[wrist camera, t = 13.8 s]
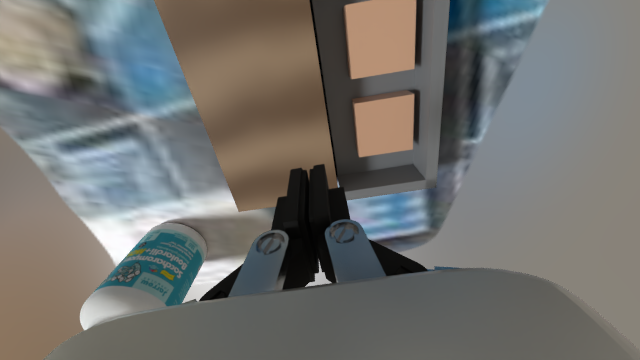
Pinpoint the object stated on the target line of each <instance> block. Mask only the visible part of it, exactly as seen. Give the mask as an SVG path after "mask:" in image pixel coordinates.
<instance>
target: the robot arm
mask: <svg viewBox="0 0 640 360" xmlns="http://www.w3.org/2000/svg"><path fill="white" fill-rule="evenodd" d="M319 262H320V265H321V269H322V272H325V276H326V279H328V280H329V281H331V282H332V283H331V284H323V285H316V286H308V287H305V286H306V285H307V284H308V283H309V282H314V281H315V273H319ZM43 360H640V350H639V349H638V348H637V347H636V346H635V345H634V344H633V343H631V342H630V341H629V340H628V339H627V338H626V337H625V336H624V335H623V334H622V333H620V332H619V331H618V330H617V329H616V328H615V327H614V326H613V325H612V324H611V323H609V322H608V321H607V320H606V319H605V318H604V317H602V316H601V315H600V314H599V313H598V312H596V311H595V310H594V309H593V308H592V307H591V306H589V305H588V304H587V303H585V302H584V301H583V300H582V299H580V298H579V297H577V296H576V295H575V294H573V293H572V292H570V291H569V290H567V289H565V288H563V287H562V286H560V285H558V284H556V283H553V282H551V281H549V280H546V279H543V278H539V277H537V276H533V275H529V274H525V273H520V272H514V271H508V270H503V269H491V268H452V267H434V270H430V269H426V268H425V267H423V266H422V265H421V264H419V263H417V262H415V261H413V260H411V259H409V258H407V257H405V256H402V255H401V254H398V253H396V252H394V251H392V250H390V249H388V248H386V247H384V246H382V245H380V244H378V243H376V242H374V241H371V240H369V239H368V238H367V236H366V234H365V232H364V230H363V228H362V226H361V225H360V224H359V223H357V222H356V221H353V220H350V215H349V210H348V206H347V201H346V196H345V191H344V187H339V188H332V189H329V186H328V180H327V175H326V170H325V165H324V164H320V165H314V166H313V169H310V171H309V178H308V173H307V170H303V169H302V168H296V169H291V170H290V176H289V183H288V189H287V196H283V197H278V199H277V204H276V209H275V214H274V219H273V224H272V229H271V231H268V232H265V233H263V234H261V235H260V236H259V237H258V238H256V239H255V241H254V242H253V244H252V246H251V248H250V251H249V253H248V255H247V257H246V259H245V261H244V264H242V265H241V266H240V267H238V268H237V269H236V270H235V271H233V272H232V273H231V274H230V275H228V276H227V277H226V278H224V279H223V280H222V281H221V282H219V283H218V284H217V285H216V286H214V287H213V288H212V289H211V290H209V291H208V292H207V293H206V294H205V295H204V296H203V297H202V298H201V299H200V300H199V302H197V301H196V299H194V300H191V301H188V302H185V303H182V304H179V305H174V306H167V307H162V308H156V309H151V310H145V311H140V312H135V313H131V314H127V315H123V316H120V317H116V318H114V319H111V320H108V321H105V322H102V323H100V324H98V325H95V326H93V327H91V328H89V329H87V330H85V331H82V332H81V333H79V334H77V335H75V336H73V337H71V338H70V339H68V340H67V341H65V342H63V343H62V344H60V345H59V346H58V347H57V348H55V349H54V350H53V351H52V352H51V353H50V354H49V355H48V356H46V357H45V358H44V359H43Z"/></svg>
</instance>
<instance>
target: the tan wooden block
mask: <svg viewBox="0 0 640 360" xmlns="http://www.w3.org/2000/svg"><path fill="white" fill-rule="evenodd" d="M154 1H155V4H156V6H157V9H158V11H159V14H160V16H161V19H162V21H163V24H164V26H165V29H166V31H167V34H168V36H169V39H170V41H171V44H172V46H173V49H174V51H175V54H176V56H177V59H178V61H179V64H180V66H181V69H182V71H183V74H184V76H185V79H186V81H187V83H188V86H189V88H190V91H191V93H192V96H193V98H194V101H195V103H196V106H197V108H198V111H199V113H200V116H201V118H202V121H203V123H204V126H205V128H206V131H207V133H208V136H209V138H210V141H211V143H212V146H213V148H214V151H215V153H216V156H217V158H218V161H219V163H220V166H221V168H222V171H223V173H224V176H225V178H226V181H227V183H228V186H229V188H230V191H231V193H232V196H233V198H234V201H235V203H236V206H237V208H238V211H239V212H241V211H248V210H255V209H262V208H268V207H275V206H276V204H277V199H278V197H283V196H287V189H288V183H289V176H290V170H291V169H296V168H302V169H303V170H307V173H308V178H309V171H310V169H313V166H314V165H320V164H324V165H325V170H326V175H327V180H328V186H329V189H332V188H338V186H337V179H336V172H335V166H334V159H333V153H332V146H331V140H330V133H329V126H328V120H327V113H326V107H325V100H324V94H323V87H322V80H321V74H320V67H319V61H318V54H317V48H316V41H315V34H314V28H313V21H312V15H311V8H310V2H309V0H154Z"/></svg>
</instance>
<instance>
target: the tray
mask: <svg viewBox="0 0 640 360" xmlns="http://www.w3.org/2000/svg"><path fill="white" fill-rule="evenodd" d="M364 1H370V0H312V5H313V11H314V18H315V25H316V32H317V38H318V45H319V52H320V59H321V65H322V72H323V79H324V86H325V92H326V99H327V106H328V113H329V119H330V126H331V133H332V140H333V146H334V153H335V160H336V167H337V173H338V180H339V186H340V187H344V191H345V196H346V200H353V199H360V198H367V197H373V196H380V195H387V194H394V193H401V192H408V191H415V190H422V189H428V188H435V187H436V183H437V170H438V156H439V142H440V129H441V115H442V102H443V88H444V74H445V61H446V47H447V33H448V20H449V6H450V0H416V29H415V65H414V69H411V70H405V71H399V72H393V73H387V74H381V75H375V76H369V77H363V78H357V79H351V78H350V77H349V72H348V61H347V50H346V39H345V28H344V17H343V7H344V6H345V5H348V4H353V3H359V2H364ZM404 90H408V91H409V92H411V93H413V94H414V124H413V149H412V150H405V151H398V152H392V153H385V154H378V155H372V156H365V157H359V155H358V153H357V150H356V142H355V131H354V120H353V109H352V99H355V98H361V97H367V96H373V95H379V94H385V93H391V92H397V91H404Z"/></svg>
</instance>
